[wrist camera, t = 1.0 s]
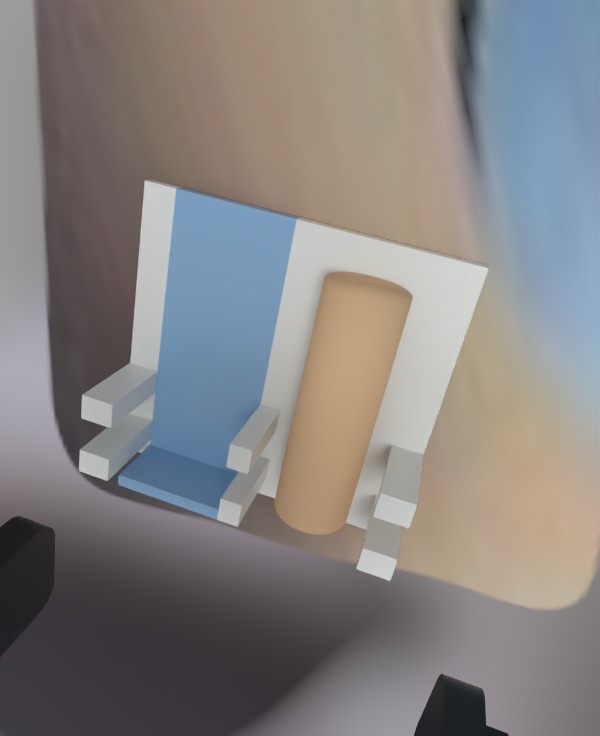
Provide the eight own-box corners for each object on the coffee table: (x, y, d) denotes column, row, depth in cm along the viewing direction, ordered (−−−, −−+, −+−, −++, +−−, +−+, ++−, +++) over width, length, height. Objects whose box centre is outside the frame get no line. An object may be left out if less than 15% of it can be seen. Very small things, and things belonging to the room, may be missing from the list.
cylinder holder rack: (151, 179, 25) (90, 187, 21) (488, 265, 23) (494, 293, 19) (129, 441, 31) (78, 488, 27) (395, 531, 28) (383, 597, 24)
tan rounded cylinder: (334, 266, 24) (315, 285, 21) (416, 287, 23) (408, 310, 20) (286, 476, 28) (264, 518, 25) (352, 498, 28) (339, 544, 25)
